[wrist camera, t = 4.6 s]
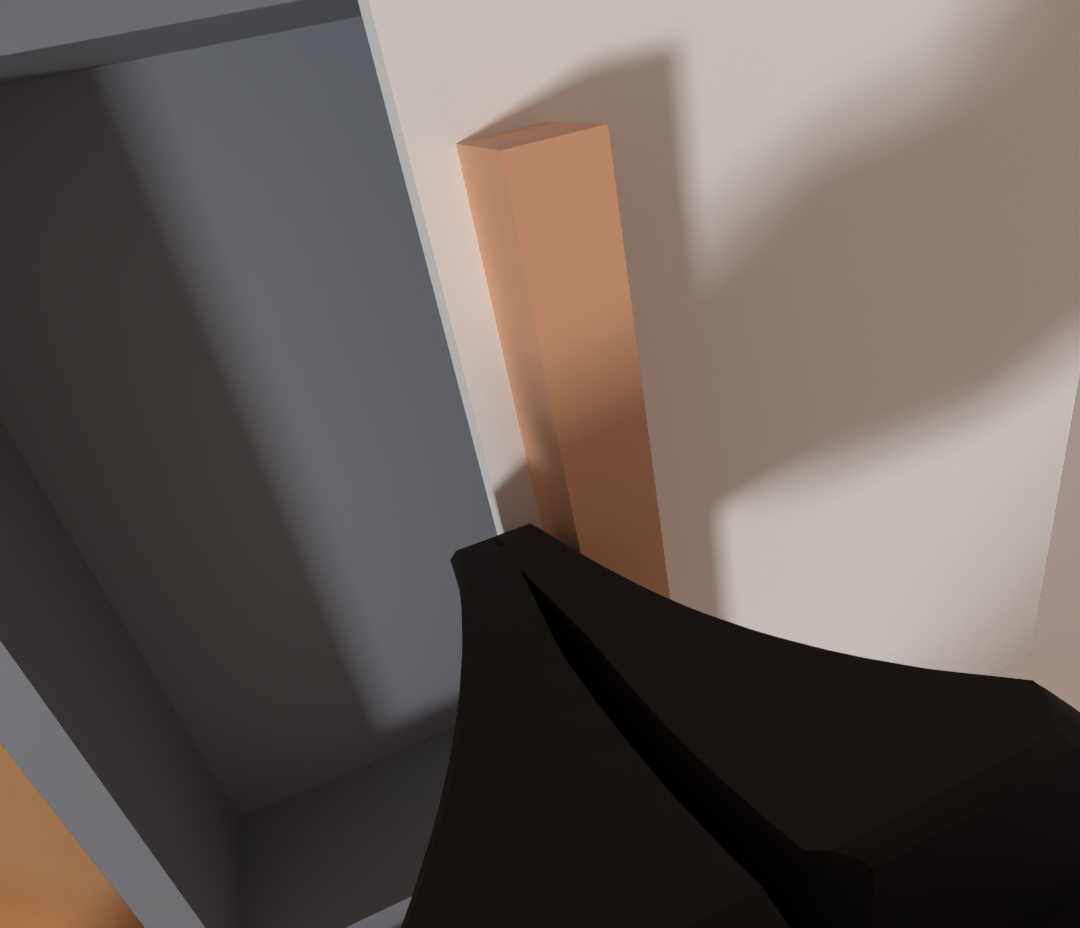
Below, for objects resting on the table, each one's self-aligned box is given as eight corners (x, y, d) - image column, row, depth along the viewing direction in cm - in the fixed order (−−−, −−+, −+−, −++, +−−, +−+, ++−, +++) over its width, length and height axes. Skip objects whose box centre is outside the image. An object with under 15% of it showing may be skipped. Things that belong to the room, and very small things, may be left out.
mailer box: (647, 671, 22) (763, 827, 17) (231, 852, 19) (230, 1097, 14) (520, -124, 13) (688, -265, 8) (-302, 5, 10) (-781, -91, 5)
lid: (1005, 637, 19) (1101, 703, 17) (577, 843, 16) (628, 952, 14) (1132, -197, 11) (1345, -271, 9) (340, -64, 8) (377, -122, 6)
